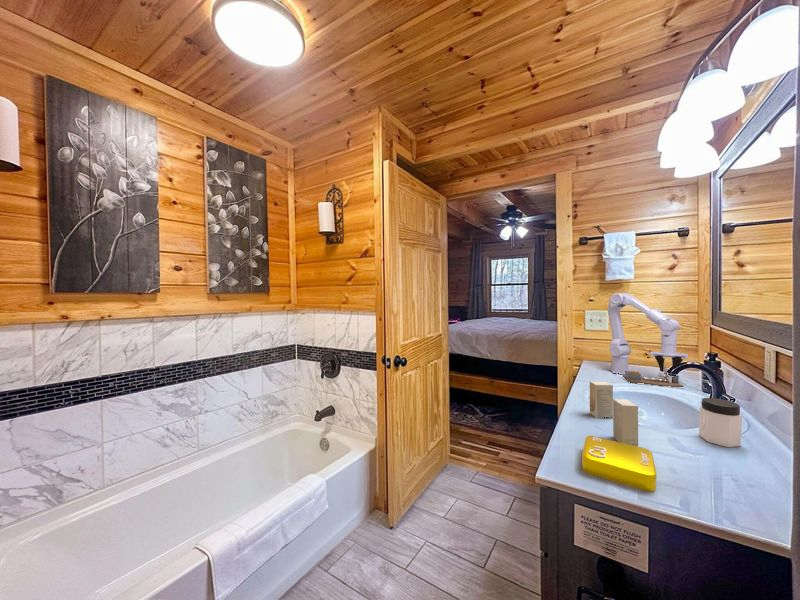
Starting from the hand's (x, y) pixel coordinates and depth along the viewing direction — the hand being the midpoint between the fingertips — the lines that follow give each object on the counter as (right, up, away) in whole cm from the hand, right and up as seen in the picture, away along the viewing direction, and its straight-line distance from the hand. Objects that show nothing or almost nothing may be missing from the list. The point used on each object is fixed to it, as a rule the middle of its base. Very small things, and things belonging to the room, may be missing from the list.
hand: (667, 371), depth 151 cm
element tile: (-74, -9, -70) cm, 103 cm away
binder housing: (-13, -6, +5) cm, 15 cm away
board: (-6, -6, +3) cm, 9 cm away
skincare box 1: (-57, -8, -38) cm, 69 cm away
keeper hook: (0, -5, 0) cm, 5 cm away
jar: (-33, -8, -56) cm, 66 cm away
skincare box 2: (-62, -8, -57) cm, 85 cm away
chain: (-4, -5, +2) cm, 6 cm away
